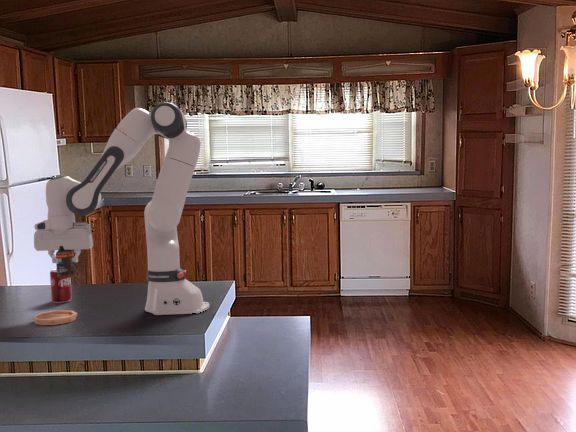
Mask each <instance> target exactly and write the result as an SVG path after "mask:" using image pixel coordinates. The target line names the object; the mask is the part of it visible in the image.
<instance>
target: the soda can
mask: <svg viewBox="0 0 576 432" xmlns="http://www.w3.org/2000/svg"><path fill="white" fill-rule="evenodd" d="M71 279H72V277H71V278H58V277H57V268H55V269H51V271H50V272H49V281H50V299H51V302H52V303H53V304H64V303H70V302H71V301H72V299H73V296H72V294H73V293H72V280H71Z"/></svg>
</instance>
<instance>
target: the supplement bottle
mask: <svg viewBox="0 0 576 432" xmlns="http://www.w3.org/2000/svg"><path fill="white" fill-rule="evenodd" d="M59 247H60V248H59V250H56V251H55V256H56V263H55V264H56V269H57V277H58V278H71V279H72V278H74V277H75V276H76V267H75V263H73V262H72V257H74V256H75V255H74V250H64V248H63V246H59Z"/></svg>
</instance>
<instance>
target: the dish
mask: <svg viewBox="0 0 576 432" xmlns="http://www.w3.org/2000/svg"><path fill="white" fill-rule="evenodd" d="M77 317H78V312H76V311H74V310H69V309H68V310H66V309H65V310H64V309H62V310H61V309H60V310H57V309H56V310H49V311H44V312H40V313H37V314H36V315H34V316H32V320H33V324H35V325H37V326H43V325H50V326H57V325H59V324H60V325H65V324H68V323H72V322H74V321H75V320H76V319H77ZM60 325H59V326H60Z"/></svg>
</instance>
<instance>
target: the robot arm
mask: <svg viewBox="0 0 576 432" xmlns="http://www.w3.org/2000/svg"><path fill="white" fill-rule="evenodd" d="M187 128H188V121H187V118H186V116H185V114H184V112H183V110H181V109H180V107H179V106H177V104H174V103H172V102H169V101H165V102H160V103H158V104H156V105H155V106H154V107H153V108H152V111H151V112H150V111H149V110H146V109H145V108H141V107H135V108H133V109H131V110H130V111H129V112H128V113H127V114H126V115H125V116H124V117H123V118H122V119H121V121H120V122H119V123H118V124H117V125H116V128H114V129H113V132H112V133H111V134H110V137H109V138H108V140H107V142H106V144H105V147H104V150H103V152H102V154H101V156H100V158H99V160H98V161H97V162H96V164H94V166H93V168H92V169H91V170H90V172H89V173H88V175H86V177H85V179H84V180H83V181H82V182H81V181H79V180H75V179H74V178H71V177H70V176H69V175H62V176H57V177H54V178H50V179H49V180H47V182H46V183H45V184H46V186H45V200H46V206H47V219H45V220H42V221H40V222H38V223H35V224H34V225H33V226H34V229H35V232H34V233H33V234H34V235H33V247H34V249H35V250H36V252H41V251H43V252H44V251H45V252H46V251H47V254H48V255H49V257H50V259H51V261H52V264H56V251H58V250H59V248H60V247H59V246H63V248H64V250H71V251H73V253H75V255H74V257H72V262H73V263H74V264H75V263H78V262H79V256H80V254H81V252H82V251H81V250H90V249H92V248H93V246H94V240H93V236H92V226H91V224H89V223H87V222H85V221H84V222H76V216H80V217H81V216H82V217H85V216H88V215H90V214H92V213H93V212H94V211H95V210H96V209H97V208H99V206H100V205H101V203H102V199H103V198H102V193H101V191H102V190H103V188H104V187H105V186H106V184H107V183H108V181H109V180H110V179H111V178H112V176H113V175H114V174H115V172H117V170H118V169H120V168H121V167H122V166H124V165H126V164H128V163H129V162H130V161H132V160H133V159H134V158H135V157H136V156H137V155H138V153H139V152H141V150H142V149H143V147H144V145H145V144H146V143H147V141H148V140H149V139H150V138H151V137H152V136H154V135H155V136H157V137H161V138H163V139H167V140H168V148H167V151H166V154H165V156H164V159H163V162H162V165H161V168H160V171H159V173H158V175H157V180H156V185H155V187H154V191H153V194H152V195H153V196H152V198H151V200H150V201H149V202H148V203H147V204H146V206H145V209H144V210H143V211H144V212H143V213H144V226H145V227H144V229H145V238H146V241H145V242H146V252H147V270H146V284H147V285H146V286H147V297H146V303H145V307H144V311H145V312H147V313H150V314H152V315H154V316H163V315H167V316H168V315H189V314H190V315H193V314H192V313H196V314H200V312H201V313H203V311H204V312H205V310H206V311H207V310H208V309H209V308H210V303H209V302H208V301H204V298H203V293H202V291H201V290H202V289H200V287H197V286H196V285H194V284H193V283H192V282H191V281H189V280H188V279H186V274H187V270H186V269H182V268H181V265H180V244H179V238H178V229H177V227H178V225H179V224H180V221H181V217H182V214H183V210H184V206H185V202H186V198H187V196H188V195H187V194H188V190H189V188H190V184H191V180H192V179H193V175H194V172H195V170H196V166H197V164H198V160H199V156H200V151H201V143H202V142H201V140H200V138H199V136H197V135H196V134H195V133H193V132H191V131H188V130H187ZM75 215H76V216H75Z"/></svg>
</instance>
